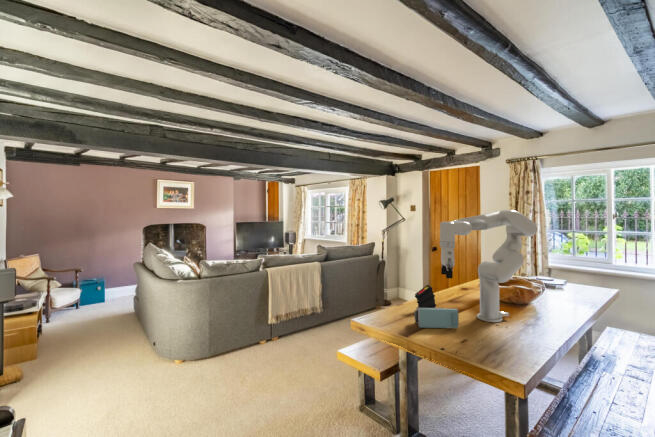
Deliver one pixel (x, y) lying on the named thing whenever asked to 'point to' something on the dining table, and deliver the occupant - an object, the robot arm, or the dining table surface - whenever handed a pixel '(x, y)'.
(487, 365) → the dining table surface
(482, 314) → the robot arm
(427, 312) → the side door
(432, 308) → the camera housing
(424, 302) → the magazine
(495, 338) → the dining table surface
